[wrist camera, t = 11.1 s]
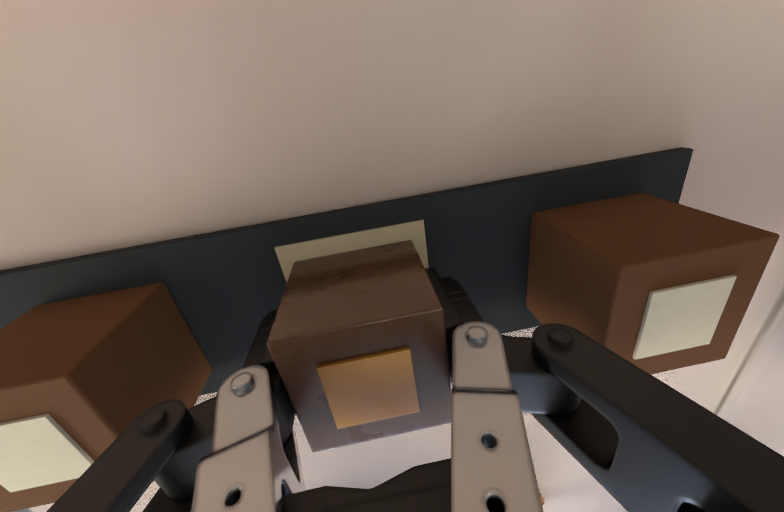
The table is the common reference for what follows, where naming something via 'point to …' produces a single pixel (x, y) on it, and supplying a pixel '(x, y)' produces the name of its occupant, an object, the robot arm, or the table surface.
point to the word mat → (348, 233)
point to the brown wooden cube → (362, 346)
